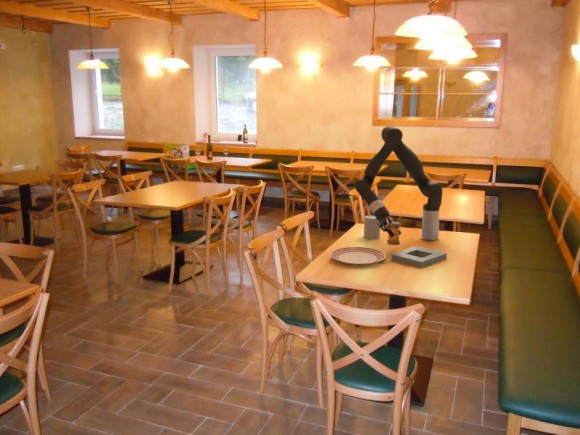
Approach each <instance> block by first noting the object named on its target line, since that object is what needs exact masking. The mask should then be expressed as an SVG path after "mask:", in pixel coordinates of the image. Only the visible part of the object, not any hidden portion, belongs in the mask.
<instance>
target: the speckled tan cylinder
mask: <svg viewBox="0 0 580 435" xmlns="http://www.w3.org/2000/svg"><path fill="white" fill-rule="evenodd" d="M363 218H364V220H363V221H364V222H363V238H364V239H366V240H380V239H381V228H380V227H379V226H378V225H377V223H378V222H379V221H378V220H377V219H376V217H375V216H374V214H373V215H371V214H370V215H364V217H363Z"/></svg>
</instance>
